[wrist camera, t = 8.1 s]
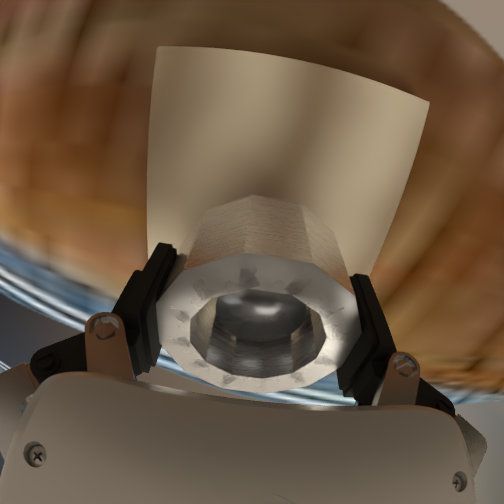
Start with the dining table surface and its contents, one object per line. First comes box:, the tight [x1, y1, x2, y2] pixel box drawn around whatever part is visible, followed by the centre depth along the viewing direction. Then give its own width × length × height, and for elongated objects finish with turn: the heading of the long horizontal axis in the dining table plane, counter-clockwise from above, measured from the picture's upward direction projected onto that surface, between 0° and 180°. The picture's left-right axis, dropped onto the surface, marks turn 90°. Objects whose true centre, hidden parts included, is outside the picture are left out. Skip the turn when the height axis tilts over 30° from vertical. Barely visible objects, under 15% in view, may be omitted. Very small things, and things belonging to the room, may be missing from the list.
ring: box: [156, 195, 362, 393], centre depth 11 cm, size 7×7×4 cm
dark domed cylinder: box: [216, 289, 306, 342], centre depth 13 cm, size 3×3×4 cm
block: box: [147, 46, 430, 277], centre depth 15 cm, size 12×18×2 cm, turn 171°
